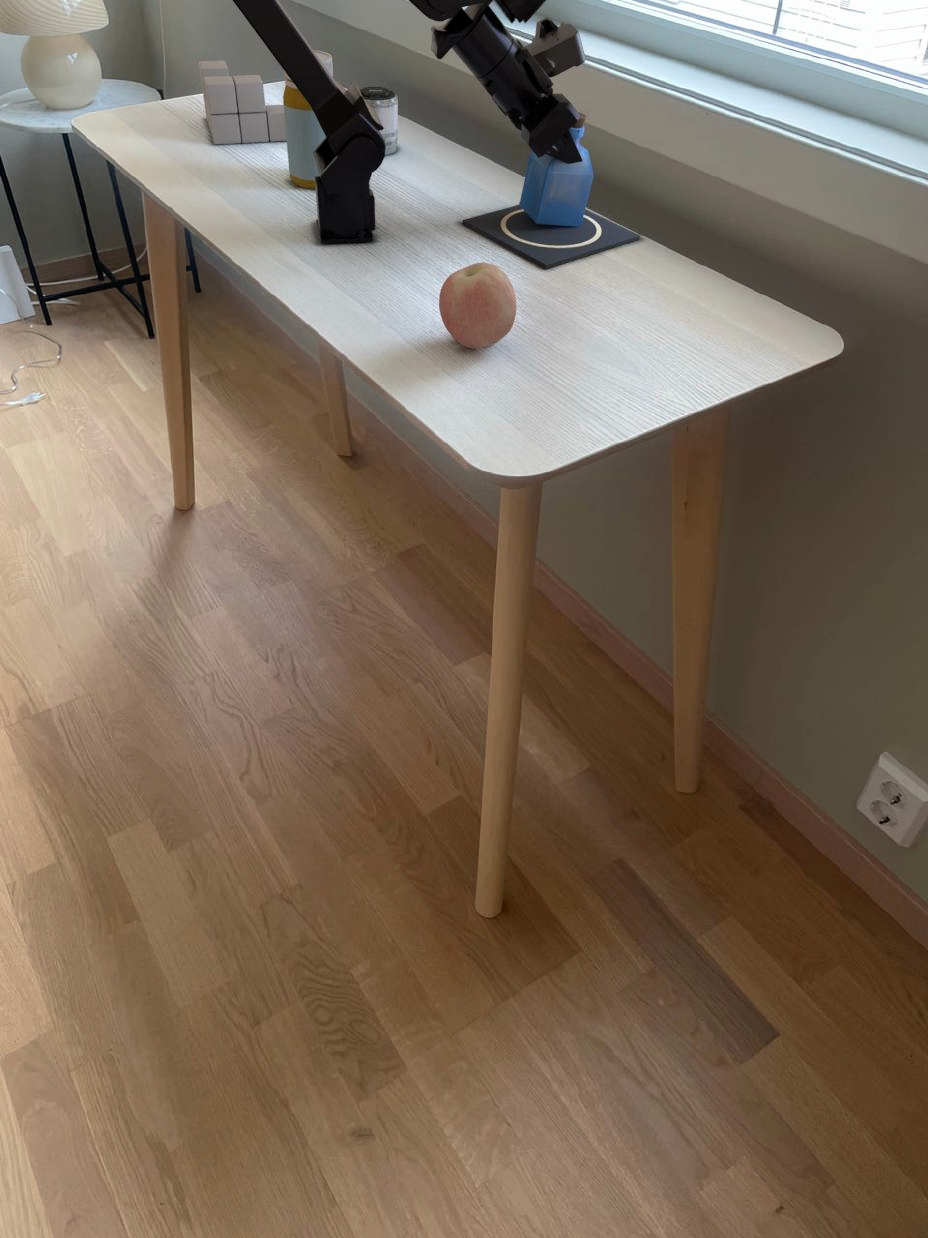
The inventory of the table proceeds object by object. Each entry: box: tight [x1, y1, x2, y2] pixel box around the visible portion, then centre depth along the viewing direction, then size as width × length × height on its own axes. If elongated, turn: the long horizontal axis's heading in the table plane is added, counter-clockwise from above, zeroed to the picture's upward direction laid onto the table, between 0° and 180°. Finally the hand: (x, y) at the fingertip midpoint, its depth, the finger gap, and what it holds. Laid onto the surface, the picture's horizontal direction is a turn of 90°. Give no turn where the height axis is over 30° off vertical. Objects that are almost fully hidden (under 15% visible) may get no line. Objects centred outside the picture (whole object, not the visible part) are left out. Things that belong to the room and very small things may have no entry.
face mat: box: [462, 204, 641, 270], centre depth 117 cm, size 16×16×1 cm
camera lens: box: [359, 86, 399, 156], centre depth 134 cm, size 6×6×8 cm
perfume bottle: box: [518, 111, 595, 227], centre depth 114 cm, size 6×6×12 cm
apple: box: [438, 261, 517, 350], centre depth 93 cm, size 8×8×8 cm
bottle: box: [282, 49, 334, 190], centre depth 121 cm, size 7×7×15 cm
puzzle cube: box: [198, 60, 287, 145], centre depth 138 cm, size 12×12×8 cm
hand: (574, 157), depth 114 cm, fingers closed on perfume bottle, 4 cm apart
